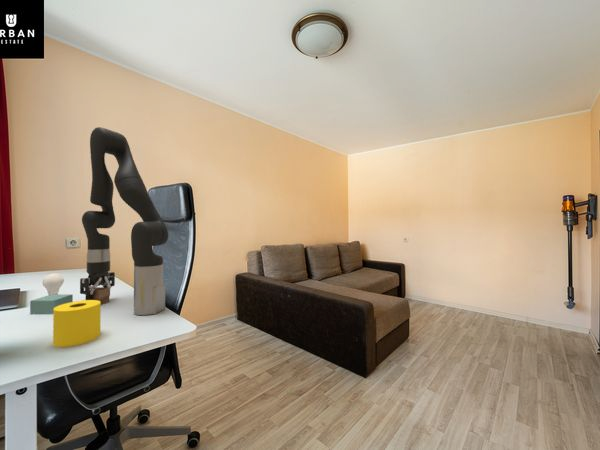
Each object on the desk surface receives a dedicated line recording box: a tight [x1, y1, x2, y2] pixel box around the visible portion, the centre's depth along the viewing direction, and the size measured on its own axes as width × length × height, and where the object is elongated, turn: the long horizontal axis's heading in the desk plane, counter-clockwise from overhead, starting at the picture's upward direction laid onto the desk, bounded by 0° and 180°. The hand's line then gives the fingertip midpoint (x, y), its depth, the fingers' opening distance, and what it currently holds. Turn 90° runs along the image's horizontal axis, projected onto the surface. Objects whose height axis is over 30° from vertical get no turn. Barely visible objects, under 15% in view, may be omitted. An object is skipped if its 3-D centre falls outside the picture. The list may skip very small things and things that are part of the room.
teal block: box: [29, 293, 74, 315], centre depth 95 cm, size 8×8×5 cm
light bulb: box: [41, 272, 65, 295], centre depth 109 cm, size 7×7×11 cm
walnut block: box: [89, 286, 110, 306], centre depth 103 cm, size 5×5×6 cm
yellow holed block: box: [52, 299, 102, 348], centre depth 72 cm, size 10×10×9 cm
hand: (98, 300), depth 103 cm, fingers open, 7 cm apart
